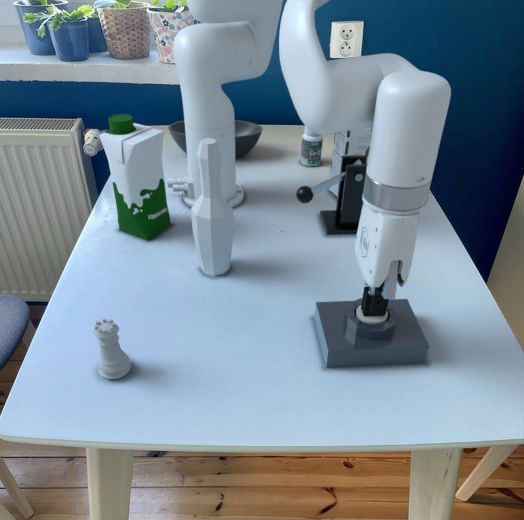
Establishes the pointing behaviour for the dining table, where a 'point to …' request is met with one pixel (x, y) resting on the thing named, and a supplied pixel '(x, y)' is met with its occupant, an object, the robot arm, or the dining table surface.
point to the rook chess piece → (110, 351)
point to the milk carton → (137, 176)
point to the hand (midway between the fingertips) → (372, 312)
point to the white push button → (371, 317)
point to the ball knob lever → (320, 186)
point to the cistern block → (369, 335)
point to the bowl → (244, 136)
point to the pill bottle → (311, 148)
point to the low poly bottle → (212, 213)
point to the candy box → (349, 149)
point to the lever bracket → (347, 199)
